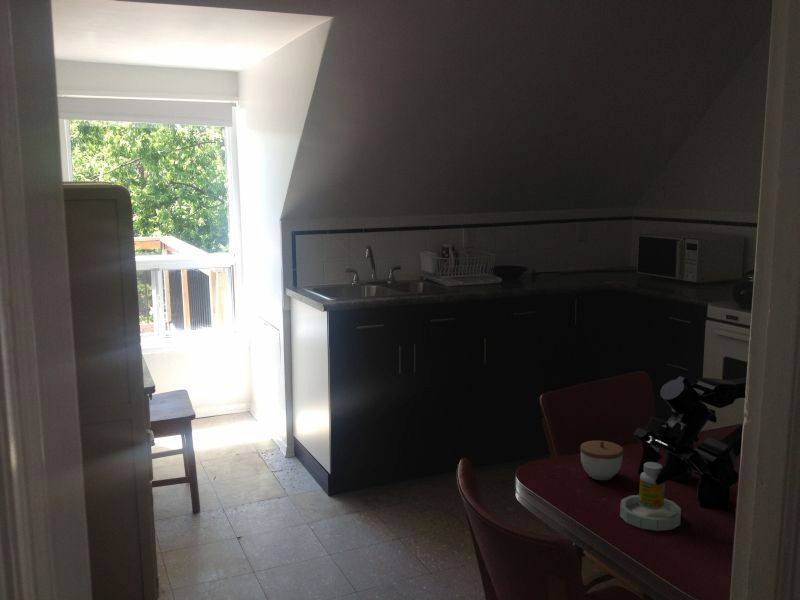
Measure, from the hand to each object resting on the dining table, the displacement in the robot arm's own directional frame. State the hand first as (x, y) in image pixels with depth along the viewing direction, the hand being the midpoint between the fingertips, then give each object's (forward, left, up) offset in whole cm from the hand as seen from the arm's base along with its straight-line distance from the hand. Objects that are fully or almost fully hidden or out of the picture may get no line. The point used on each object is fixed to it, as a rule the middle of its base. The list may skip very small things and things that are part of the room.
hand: (647, 478), depth 168 cm
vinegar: (-7, -28, -10) cm, 30 cm away
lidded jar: (+12, -22, -10) cm, 27 cm away
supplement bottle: (-1, -1, -7) cm, 7 cm away
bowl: (-1, -1, -9) cm, 10 cm away
